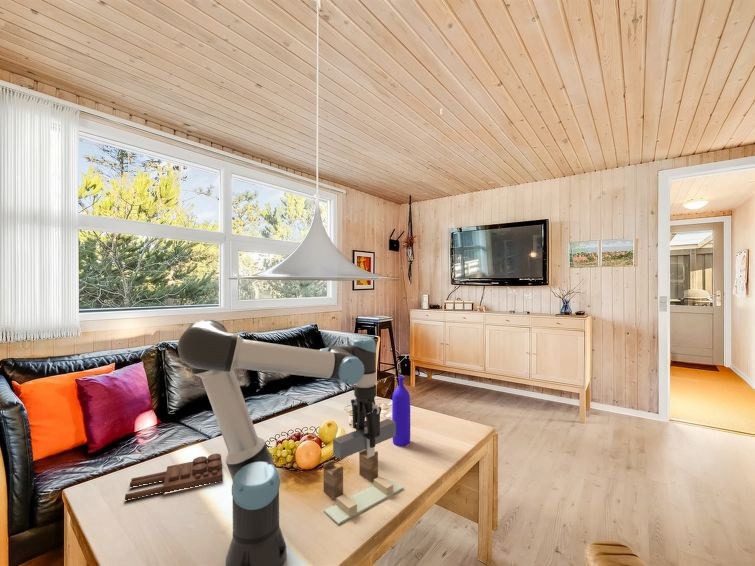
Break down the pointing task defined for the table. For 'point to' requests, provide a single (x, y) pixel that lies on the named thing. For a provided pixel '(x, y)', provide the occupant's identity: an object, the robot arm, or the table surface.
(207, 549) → the table surface
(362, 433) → the rail
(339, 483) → the rack
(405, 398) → the bottle
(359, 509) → the board
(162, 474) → the miniature factory model
